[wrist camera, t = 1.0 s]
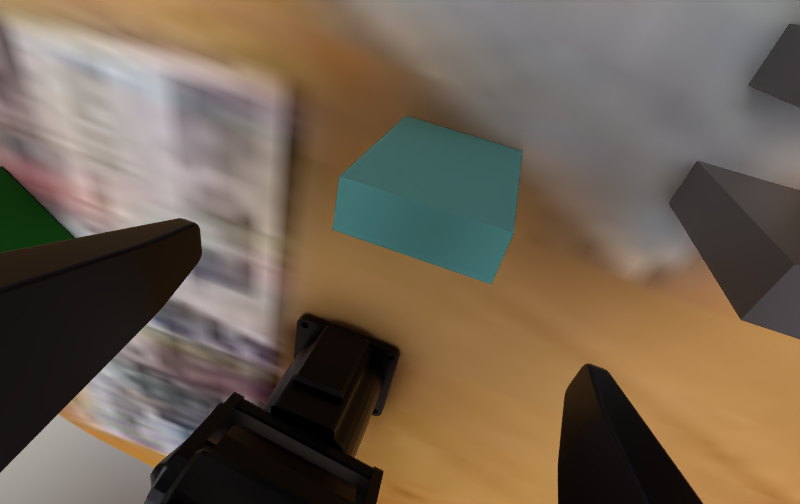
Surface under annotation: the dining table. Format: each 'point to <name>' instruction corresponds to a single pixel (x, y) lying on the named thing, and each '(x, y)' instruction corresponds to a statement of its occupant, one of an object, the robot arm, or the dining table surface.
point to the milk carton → (24, 218)
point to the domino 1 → (433, 197)
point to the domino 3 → (782, 68)
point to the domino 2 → (746, 242)
